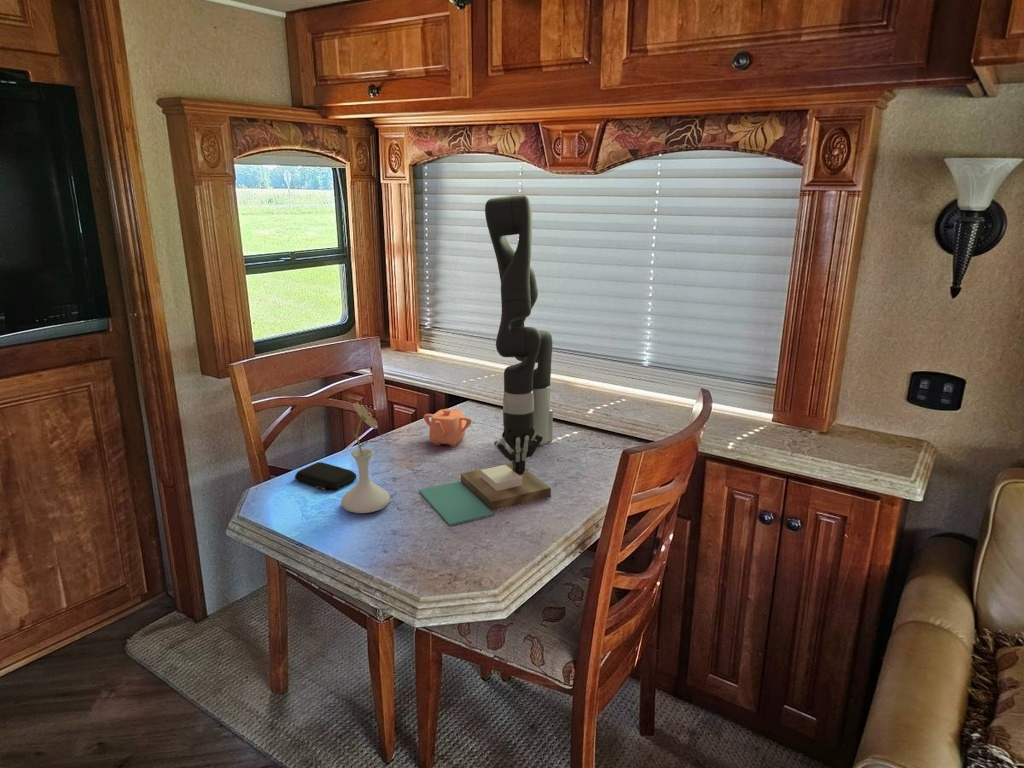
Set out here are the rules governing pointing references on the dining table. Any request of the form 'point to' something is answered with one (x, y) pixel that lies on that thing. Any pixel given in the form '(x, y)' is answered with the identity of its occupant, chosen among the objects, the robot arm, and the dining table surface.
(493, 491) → the brown wooden board
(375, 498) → the flower in vase
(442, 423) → the teapot
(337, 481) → the carrying case or bag
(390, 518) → the dining table surface
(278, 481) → the dining table surface
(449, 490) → the mat
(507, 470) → the tile
